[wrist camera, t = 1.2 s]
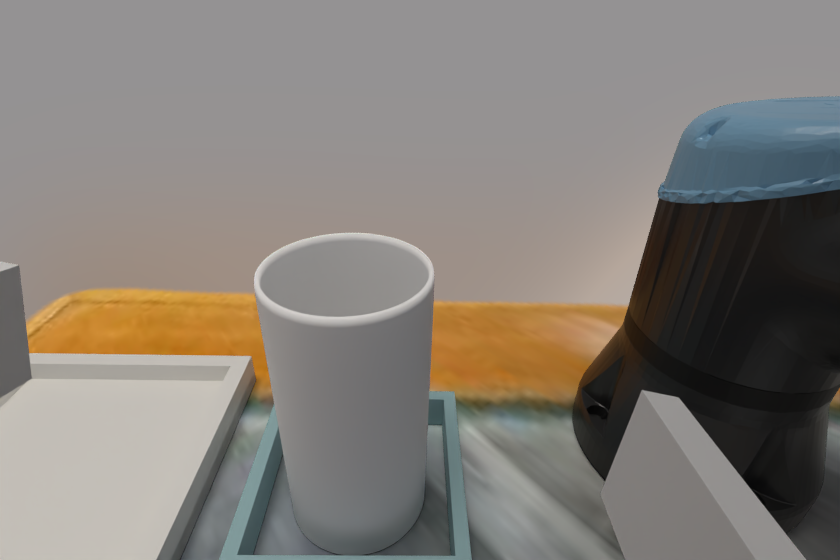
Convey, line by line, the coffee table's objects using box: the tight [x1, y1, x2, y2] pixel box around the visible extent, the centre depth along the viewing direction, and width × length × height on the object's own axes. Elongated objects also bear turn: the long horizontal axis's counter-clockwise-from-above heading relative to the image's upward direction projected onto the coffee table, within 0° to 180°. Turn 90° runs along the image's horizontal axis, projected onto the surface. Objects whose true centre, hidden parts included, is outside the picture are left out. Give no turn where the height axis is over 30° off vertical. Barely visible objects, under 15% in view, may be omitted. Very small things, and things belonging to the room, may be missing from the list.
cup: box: [254, 233, 434, 556], centre depth 26 cm, size 8×8×16 cm
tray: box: [0, 353, 256, 560], centre depth 29 cm, size 20×18×2 cm
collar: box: [219, 391, 472, 560], centre depth 29 cm, size 13×13×2 cm
